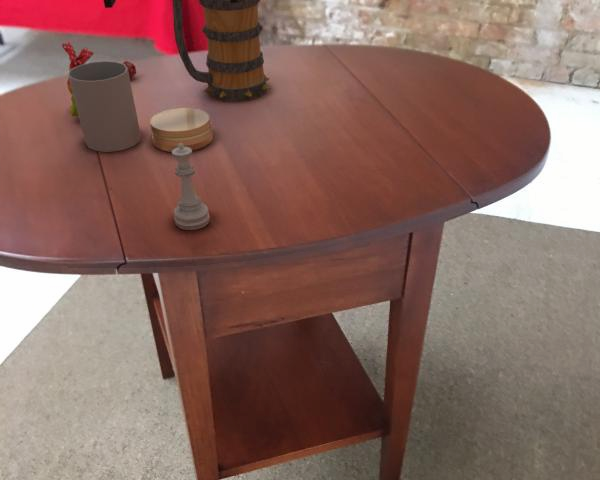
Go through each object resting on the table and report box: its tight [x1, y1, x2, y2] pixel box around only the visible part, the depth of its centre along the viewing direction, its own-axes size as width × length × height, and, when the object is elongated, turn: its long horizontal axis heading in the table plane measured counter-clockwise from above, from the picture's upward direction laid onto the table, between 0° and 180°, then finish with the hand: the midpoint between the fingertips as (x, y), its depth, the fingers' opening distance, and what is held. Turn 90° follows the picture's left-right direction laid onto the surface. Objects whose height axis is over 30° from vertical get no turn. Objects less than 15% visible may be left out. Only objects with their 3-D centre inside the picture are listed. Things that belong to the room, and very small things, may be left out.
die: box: [121, 60, 137, 79], centre depth 116 cm, size 3×3×3 cm
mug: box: [171, 0, 271, 103], centre depth 104 cm, size 13×17×20 cm
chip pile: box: [149, 107, 214, 153], centre depth 97 cm, size 10×9×3 cm
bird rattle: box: [61, 42, 94, 118], centre depth 103 cm, size 6×11×9 cm
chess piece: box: [171, 143, 211, 231], centre depth 77 cm, size 4×4×10 cm
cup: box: [67, 60, 142, 153], centre depth 95 cm, size 8×8×10 cm
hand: (172, 2), depth 70 cm, fingers open, 13 cm apart
